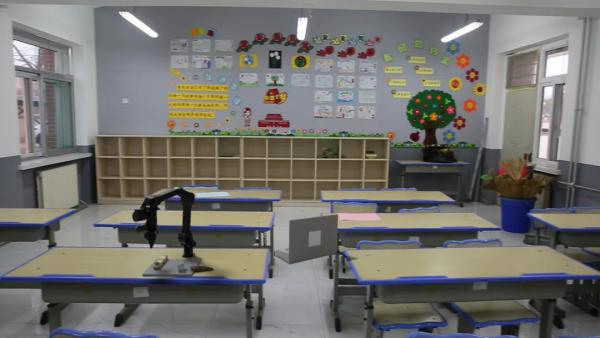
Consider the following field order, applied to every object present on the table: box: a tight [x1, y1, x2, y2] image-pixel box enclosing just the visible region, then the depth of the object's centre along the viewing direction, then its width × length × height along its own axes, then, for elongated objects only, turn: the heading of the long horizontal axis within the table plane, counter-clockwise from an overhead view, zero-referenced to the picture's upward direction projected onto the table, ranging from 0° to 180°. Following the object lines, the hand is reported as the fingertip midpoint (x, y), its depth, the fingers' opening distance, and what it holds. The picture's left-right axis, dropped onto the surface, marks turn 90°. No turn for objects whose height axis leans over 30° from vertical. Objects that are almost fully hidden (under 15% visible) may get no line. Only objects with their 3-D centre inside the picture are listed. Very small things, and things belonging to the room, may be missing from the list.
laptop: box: [273, 213, 339, 265], centre depth 262 cm, size 35×26×27 cm
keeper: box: [178, 262, 186, 271], centre depth 230 cm, size 6×3×3 cm, turn 2°
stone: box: [190, 265, 214, 272], centre depth 232 cm, size 13×5×2 cm, turn 102°
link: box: [153, 254, 169, 269], centre depth 238 cm, size 18×4×3 cm, turn 2°
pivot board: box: [142, 258, 202, 277], centre depth 235 cm, size 25×26×1 cm
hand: (152, 245), depth 234 cm, fingers open, 9 cm apart
